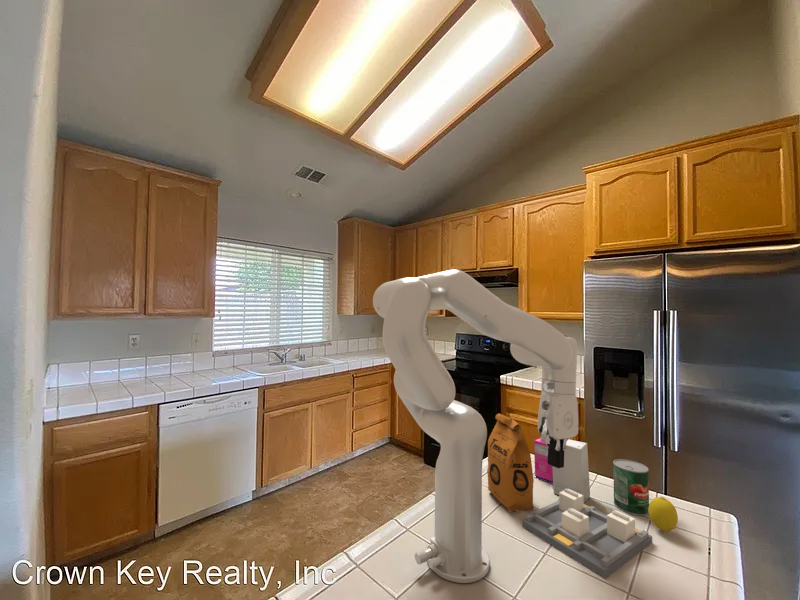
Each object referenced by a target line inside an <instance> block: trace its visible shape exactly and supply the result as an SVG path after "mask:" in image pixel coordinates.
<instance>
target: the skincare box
mask: <svg viewBox="0 0 800 600" xmlns="http://www.w3.org/2000/svg"><path fill="white" fill-rule="evenodd" d="M588 450H589V449H588V443H587V442H583V441H577V440H572V439H571V438H570V439H569V440H567V442H566V449H565V450H564V467H563V468H556V467H554V466H552V469H553V483H552V486H553V490H552V491H553V494H555V495H557V496H559V492H562V491H564V489H570V490H572V491H575V492H577V493H579V494H581V495H583V504H585V502H586V501H588V500H589V499H590V497H591V491H590V490H591V487H590V486H591V484H590V472H589V471H590V470H589V467H590V466H589V454H588V453H589V452H588Z"/></svg>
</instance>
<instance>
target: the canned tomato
mask: <svg viewBox="0 0 800 600" xmlns="http://www.w3.org/2000/svg"><path fill="white" fill-rule="evenodd" d="M612 462H613V463H612V464H613V465H612V466H613V467H612V469H613V505H614V506H615V507H616V508H617V509H619V510H620V511H622V512H623V513H624V512H625V513H627V514H629V515H633V516H639V517H643V516H644V517H645V516H649V513H648V508H649V504H650V488H649V487H650V486H649V485H650V478H649V477H650V476H649V467H647V466H646V465H645V464H643V463H640V462H637V461H635V460H634V461H633V460H630V459H621V458H620V459H614V460H613V461H612Z"/></svg>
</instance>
